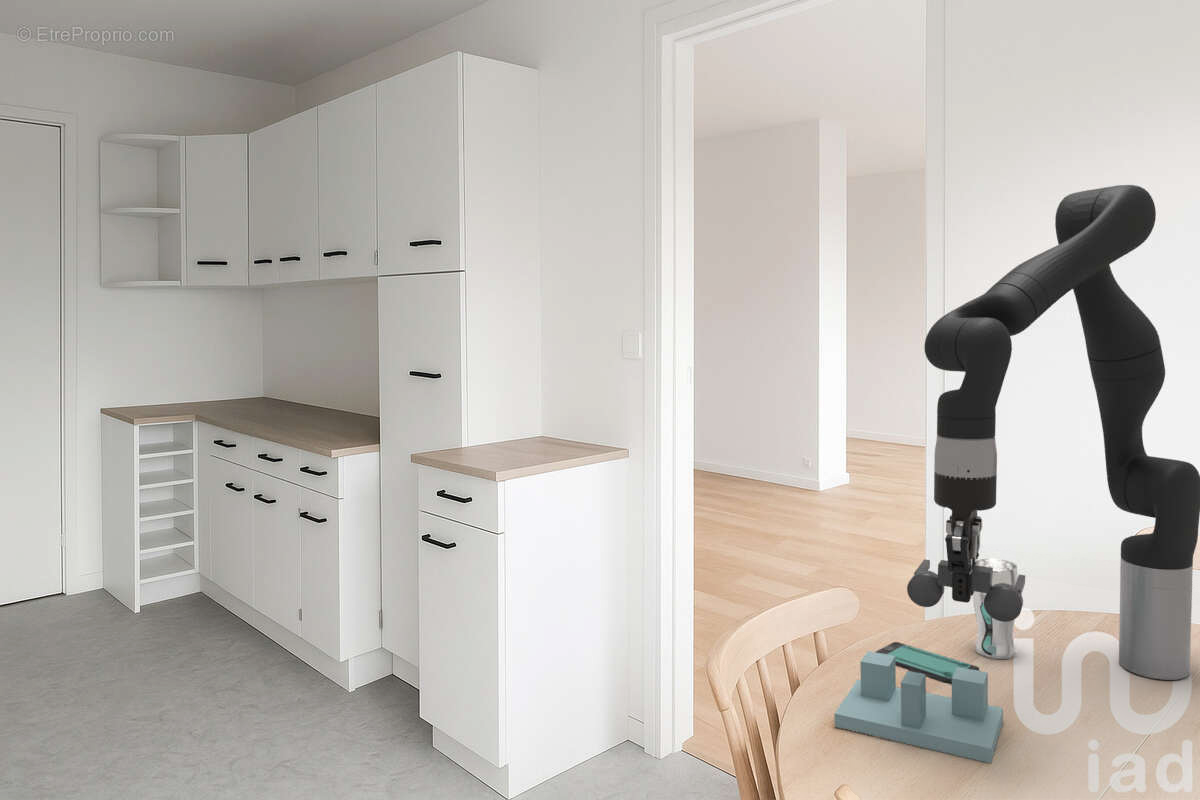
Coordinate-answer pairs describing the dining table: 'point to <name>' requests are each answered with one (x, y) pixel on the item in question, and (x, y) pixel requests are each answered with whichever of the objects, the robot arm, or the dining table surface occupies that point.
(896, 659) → the smartphone
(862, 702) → the stand
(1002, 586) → the glasses
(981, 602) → the beer glass
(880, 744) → the dining table surface
